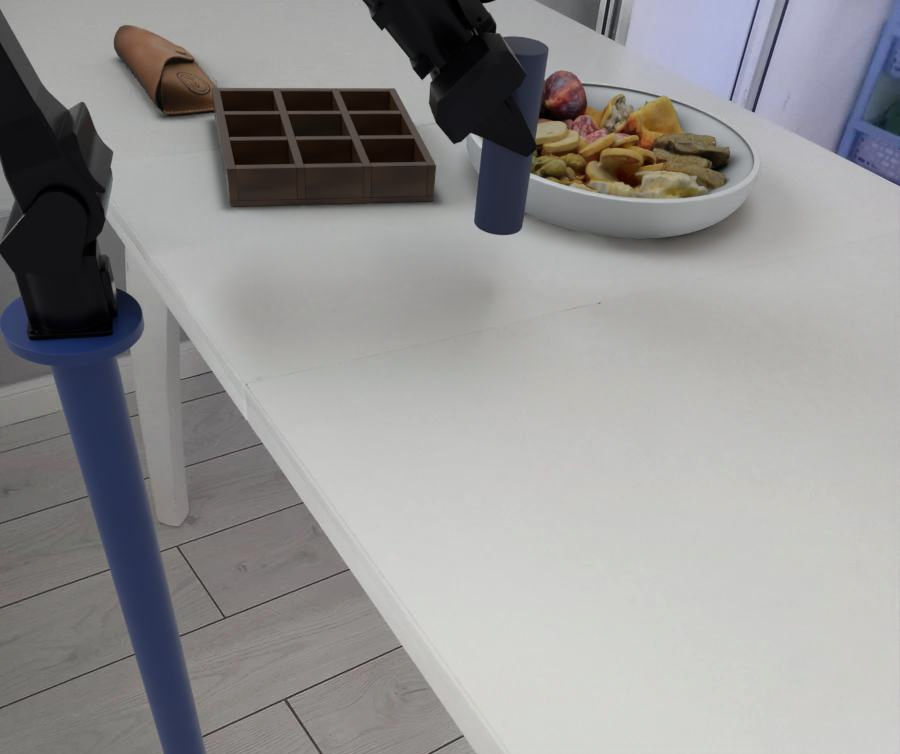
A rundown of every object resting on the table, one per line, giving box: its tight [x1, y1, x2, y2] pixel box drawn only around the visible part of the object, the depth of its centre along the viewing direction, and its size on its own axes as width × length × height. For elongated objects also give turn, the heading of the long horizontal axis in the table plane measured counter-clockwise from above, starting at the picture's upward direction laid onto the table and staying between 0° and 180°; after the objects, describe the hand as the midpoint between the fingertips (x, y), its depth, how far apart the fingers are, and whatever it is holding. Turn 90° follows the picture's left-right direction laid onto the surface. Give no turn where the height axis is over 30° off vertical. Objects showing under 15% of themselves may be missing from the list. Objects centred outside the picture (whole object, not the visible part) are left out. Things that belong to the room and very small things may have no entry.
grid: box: [212, 87, 437, 207], centre depth 91 cm, size 20×20×4 cm
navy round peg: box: [473, 35, 550, 236], centre depth 68 cm, size 4×4×13 cm
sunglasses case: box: [113, 24, 218, 116], centre depth 101 cm, size 18×7×7 cm
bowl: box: [465, 70, 762, 239], centre depth 91 cm, size 30×30×8 cm
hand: (526, 140), depth 68 cm, fingers closed on navy round peg, 4 cm apart
